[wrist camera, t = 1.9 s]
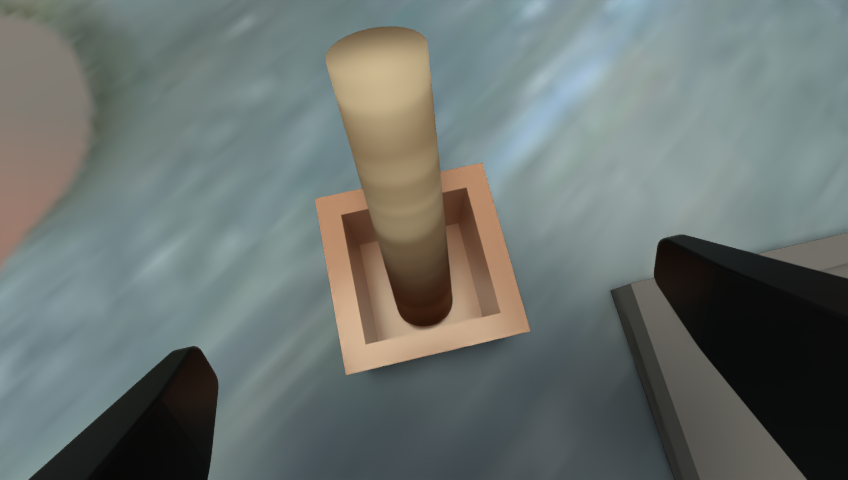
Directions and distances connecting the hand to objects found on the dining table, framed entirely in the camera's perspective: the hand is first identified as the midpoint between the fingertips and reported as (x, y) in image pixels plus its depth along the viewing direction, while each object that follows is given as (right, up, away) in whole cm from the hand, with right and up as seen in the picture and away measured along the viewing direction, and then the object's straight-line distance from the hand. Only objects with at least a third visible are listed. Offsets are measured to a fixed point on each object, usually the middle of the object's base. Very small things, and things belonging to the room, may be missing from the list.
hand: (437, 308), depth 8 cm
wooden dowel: (-1, 0, +11) cm, 11 cm away
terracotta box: (0, -1, +11) cm, 11 cm away
